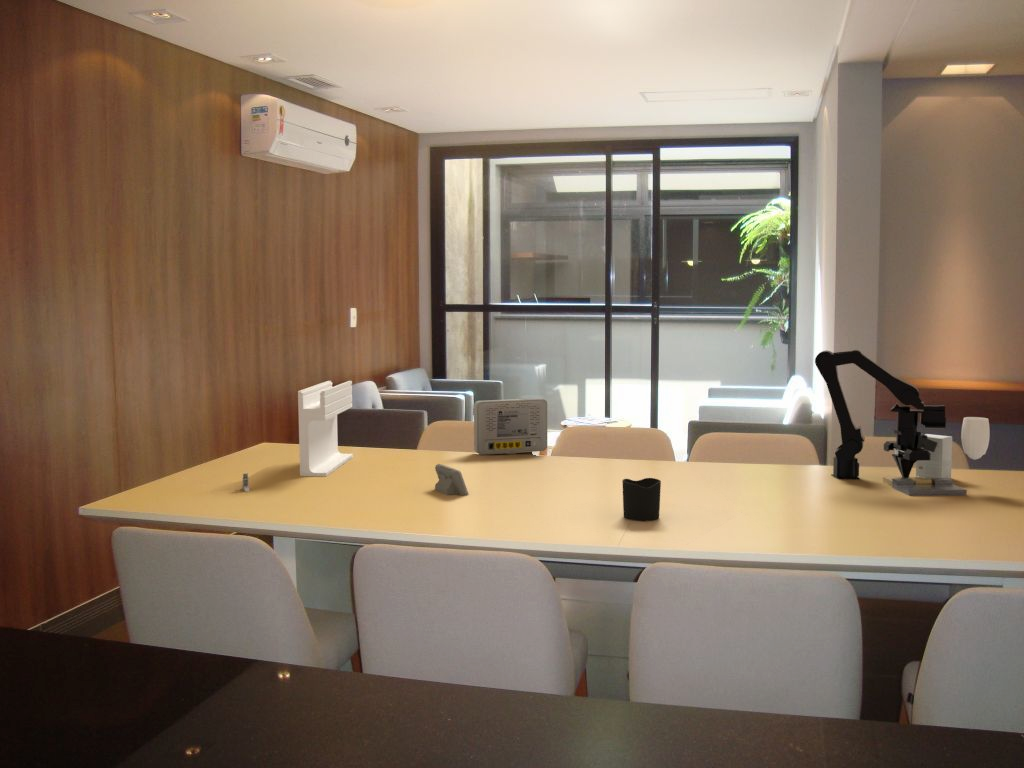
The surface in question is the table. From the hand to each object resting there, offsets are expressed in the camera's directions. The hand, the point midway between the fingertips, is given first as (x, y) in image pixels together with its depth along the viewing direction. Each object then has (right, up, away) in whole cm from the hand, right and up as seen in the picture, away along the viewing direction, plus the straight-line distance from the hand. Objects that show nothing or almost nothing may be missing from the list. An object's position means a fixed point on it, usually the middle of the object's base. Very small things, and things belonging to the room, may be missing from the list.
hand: (905, 479), depth 281 cm
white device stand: (-175, 0, +20) cm, 176 cm away
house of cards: (-192, -4, -19) cm, 193 cm away
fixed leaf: (0, -2, -15) cm, 15 cm away
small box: (+11, -1, +7) cm, 13 cm away
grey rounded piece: (+14, -2, -12) cm, 19 cm away
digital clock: (-133, -4, -19) cm, 135 cm away
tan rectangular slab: (0, -2, -6) cm, 6 cm away
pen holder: (-84, -6, -45) cm, 96 cm away
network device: (-117, +3, +49) cm, 127 cm away
